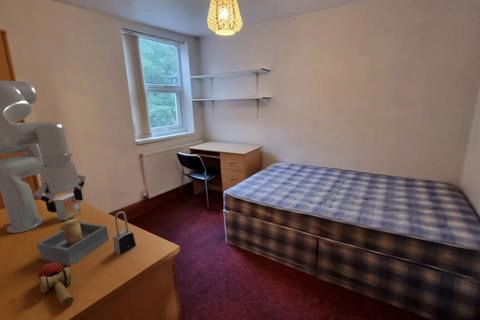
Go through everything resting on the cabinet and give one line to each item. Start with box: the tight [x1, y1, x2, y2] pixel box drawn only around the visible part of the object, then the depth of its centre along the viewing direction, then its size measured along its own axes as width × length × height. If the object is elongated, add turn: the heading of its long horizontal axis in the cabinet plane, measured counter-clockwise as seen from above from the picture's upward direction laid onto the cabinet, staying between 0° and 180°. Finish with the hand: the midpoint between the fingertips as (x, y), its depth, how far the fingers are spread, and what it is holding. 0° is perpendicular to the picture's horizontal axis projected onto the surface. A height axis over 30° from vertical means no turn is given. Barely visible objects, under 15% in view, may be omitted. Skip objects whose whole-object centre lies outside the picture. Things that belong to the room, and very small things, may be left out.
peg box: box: [36, 221, 109, 267], centre depth 88 cm, size 14×16×6 cm
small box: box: [53, 192, 82, 221], centre depth 114 cm, size 8×6×10 cm
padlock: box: [112, 211, 137, 256], centre depth 87 cm, size 7×4×15 cm, turn 145°
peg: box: [62, 218, 83, 248], centre depth 88 cm, size 5×5×11 cm
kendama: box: [38, 262, 75, 309], centre depth 69 cm, size 8×6×18 cm
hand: (66, 205), depth 85 cm, fingers open, 9 cm apart
